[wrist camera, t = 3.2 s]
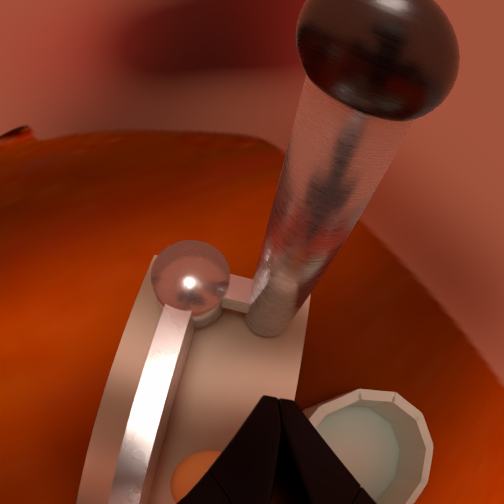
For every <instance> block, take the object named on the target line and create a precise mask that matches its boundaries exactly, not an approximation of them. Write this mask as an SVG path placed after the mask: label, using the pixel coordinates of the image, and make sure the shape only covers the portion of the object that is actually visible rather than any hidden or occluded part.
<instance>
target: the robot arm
mask: <svg viewBox="0 0 504 504" xmlns="http://www.w3.org/2000/svg"><path fill="white" fill-rule="evenodd" d="M360 487H361V485H360V484H359V482H358V481H357V480H356V479H355V478H354V476H353V475H352V474H351V473H350V471H349V470H348V469H347V468H346V467H345V465H344V464H343V463H342V462H341V460H340V459H339V458H338V457H337V455H336V454H335V453H334V452H333V450H332V449H331V448H330V447H329V445H328V444H327V443H326V441H325V440H324V439H323V438H322V436H321V435H320V434H319V432H318V431H317V430H316V429H315V427H314V426H313V425H312V423H311V422H310V421H309V419H308V418H307V417H306V416H305V414H304V413H303V412H302V410H301V409H300V408H299V406H298V405H297V404H296V402H295V401H293V400H289V399H283V398H280V399H278V398H277V397H272V396H267V395H263V396H262V397H261V398H260V400H259V401H258V403H257V404H256V406H255V407H254V408H253V410H252V411H251V413H250V414H249V416H248V417H247V418H246V420H245V421H244V423H243V424H242V425H241V427H240V428H239V429H238V431H237V432H236V434H235V435H234V436H233V438H232V439H231V440H230V442H229V443H228V444H227V446H226V447H225V448H224V450H223V451H222V452H221V454H220V455H219V456H218V457H217V459H216V460H215V461H214V463H213V464H212V465H211V466H210V468H209V469H208V471H206V472H205V474H204V475H203V476H202V477H201V479H200V480H199V481H198V482H197V483H196V484H195V485H194V487H193V488H192V489H191V490H190V491H189V492H188V493H187V494H186V495H185V496H184V497H183V498H182V499H181V500H180V501H179V502H177V503H176V504H377V503H376V502H375V501H374V500H373V499H372V498H371V496H370V495H369V494H368V493H367V492H366V490H365V489H364V488H363V487H361V488H360Z"/></svg>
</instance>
